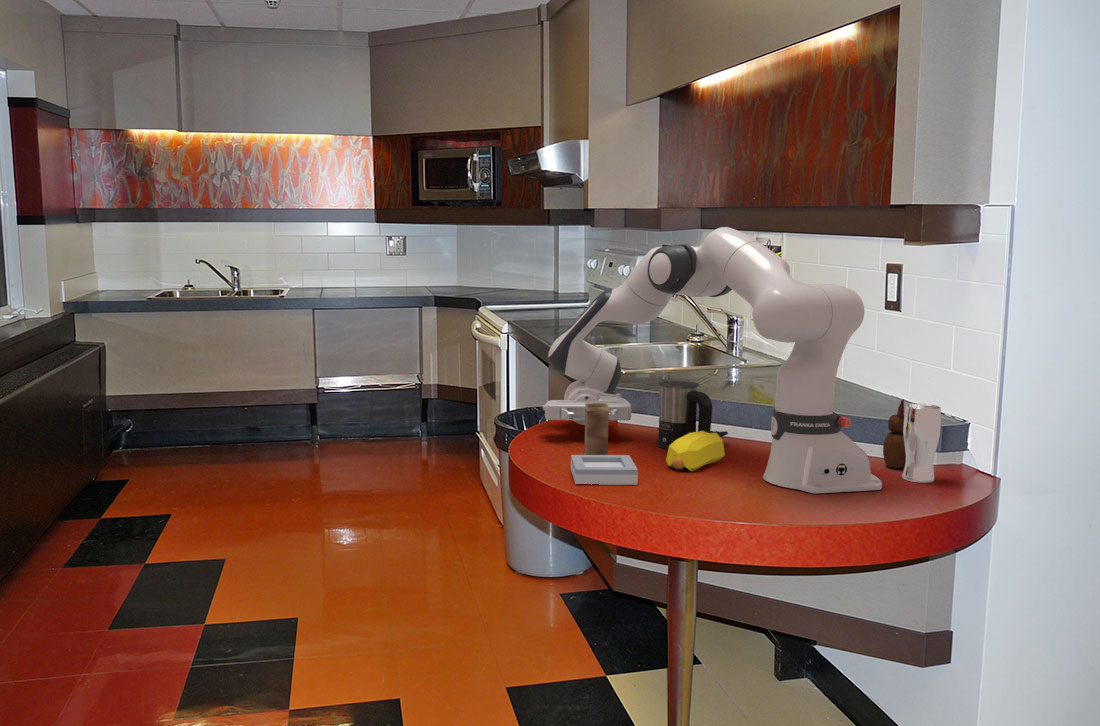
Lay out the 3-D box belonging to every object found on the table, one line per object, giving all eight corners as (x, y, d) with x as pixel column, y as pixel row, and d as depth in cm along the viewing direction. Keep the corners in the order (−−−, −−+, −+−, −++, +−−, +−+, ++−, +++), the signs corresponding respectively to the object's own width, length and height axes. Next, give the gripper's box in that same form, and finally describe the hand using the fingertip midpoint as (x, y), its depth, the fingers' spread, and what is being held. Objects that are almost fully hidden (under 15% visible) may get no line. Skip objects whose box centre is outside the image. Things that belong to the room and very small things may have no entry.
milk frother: (649, 447, 210) (651, 383, 208) (677, 435, 224) (680, 375, 222) (707, 455, 203) (710, 389, 201) (733, 443, 216) (736, 381, 214)
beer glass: (937, 477, 188) (942, 405, 186) (936, 485, 181) (941, 410, 179) (900, 473, 190) (905, 402, 188) (898, 480, 184) (903, 407, 182)
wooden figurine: (907, 472, 191) (912, 401, 189) (879, 468, 194) (883, 398, 192) (914, 465, 197) (919, 396, 195) (886, 461, 200) (890, 394, 198)
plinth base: (628, 469, 189) (629, 455, 189) (637, 484, 177) (637, 469, 177) (570, 469, 189) (571, 454, 188) (575, 484, 177) (575, 469, 176)
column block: (605, 457, 199) (606, 403, 198) (607, 462, 195) (609, 407, 193) (584, 457, 199) (585, 403, 197) (586, 462, 195) (587, 406, 193)
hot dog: (658, 470, 190) (692, 476, 186) (659, 438, 189) (693, 443, 185) (698, 454, 205) (730, 459, 200) (699, 425, 204) (731, 429, 199)
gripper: (542, 392, 221) (545, 402, 207) (626, 393, 222) (635, 403, 208) (541, 418, 221) (544, 430, 208) (626, 419, 223) (634, 430, 209)
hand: (590, 416), depth 208 cm, fingers open, 8 cm apart
